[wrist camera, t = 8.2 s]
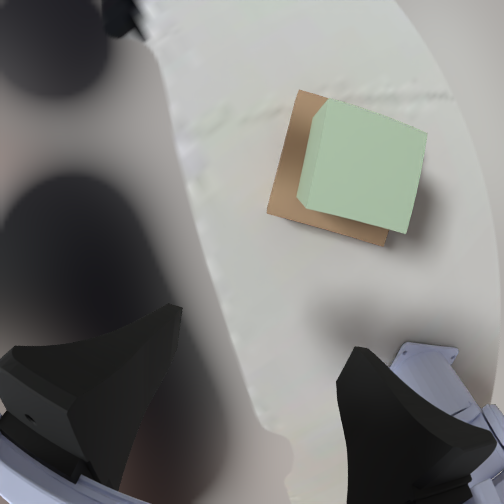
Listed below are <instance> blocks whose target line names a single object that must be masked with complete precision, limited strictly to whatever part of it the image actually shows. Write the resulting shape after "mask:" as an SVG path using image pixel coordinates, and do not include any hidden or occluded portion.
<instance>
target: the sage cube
mask: <svg viewBox="0 0 504 504" xmlns="http://www.w3.org/2000/svg"><path fill="white" fill-rule="evenodd" d="M426 140H427V133H425V132H423V131H421V130H419V129H416V128H414V127H412V126H409V125H407V124H404V123H402V122H399V121H397V120H394V119H392V118H389V117H386V116H384V115H381V114H378V113H375V112H372V111H370V110H367V109H364V108H361V107H357V106H354V105H351V104H348V103H345V102H341V101H338V100H334V99H331V98H329V99H328V100H327V101H326V102H325V103H324V105H323V106H322V107H321V108H320V109H319V111H318V112H317V113H316V114H315V116H314V117H313V119H312V124H311V129H310V134H309V139H308V144H307V149H306V154H305V159H304V163H303V168H302V173H301V177H300V182H299V187H298V191H297V196H296V197H297V198H298V200H299V201H300V202H301V203H302V204H303V205H304V206H305V208H306V209H311V210H315V211H319V212H323V213H328V214H332V215H336V216H340V217H344V218H348V219H352V220H356V221H360V222H363V223H367V224H371V225H375V226H378V227H382V228H386V229H389V230H393V231H396V232H400V233H403V234H406V232H407V229H408V225H409V221H410V218H411V214H412V210H413V206H414V202H415V197H416V193H417V189H418V184H419V179H420V174H421V169H422V164H423V158H424V153H425V146H426Z"/></svg>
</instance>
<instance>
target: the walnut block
mask: <svg viewBox="0 0 504 504" xmlns="http://www.w3.org/2000/svg"><path fill="white" fill-rule="evenodd" d="M328 99H329V98H326V97H323V96H319V95H316V94H313V93H309V92H306V91H302V90H299V91H298V94H297V97H296V100H295V103H294V107H293V111H292V115H291V119H290V123H289V127H288V130H287V134H286V138H285V142H284V146H283V150H282V153H281V157H280V161H279V165H278V169H277V172H276V176H275V180H274V184H273V188H272V191H271V195H270V199H269V203H268V207H267V214H271V215H274V216H278V217H282V218H286V219H289V220H293V221H297V222H300V223H304V224H308V225H311V226H315V227H318V228H322V229H325V230H329V231H332V232H336V233H339V234H343V235H346V236H349V237H353V238H356V239H359V240H363V241H366V242H369V243H372V244H376V245H379V246H382V247H383V246H384V243H385V241H386V238H387V235H388V232H389V229H386V228H382V227H378V226H375V225H371V224H367V223H363V222H360V221H356V220H352V219H348V218H344V217H340V216H336V215H332V214H328V213H323V212H319V211H315V210H311V209H306V208H305V206H304V205H303V204H302V203H301V202H300V201H299V200H298V198H297V197H296V196H297V191H298V187H299V182H300V177H301V173H302V168H303V163H304V159H305V154H306V149H307V144H308V139H309V134H310V129H311V124H312V119H313V117H314V116H315V114H316V113H317V112H318V111H319V109H320V108H321V107H322V106H323V105H324V103H325V102H326V101H327V100H328Z"/></svg>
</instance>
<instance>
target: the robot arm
mask: <svg viewBox="0 0 504 504" xmlns="http://www.w3.org/2000/svg"><path fill="white" fill-rule="evenodd" d="M182 309H183V308H182V307H179V306H175V305H172V304H166V305H165V306H163V307H161V308H159V309H157V310H156V311H154V312H152V313H150V314H148V315H146V316H145V317H143V318H141V319H139V320H137V321H135V322H133V323H131V324H129V325H127V326H124V327H122V328H120V329H118V330H115V331H113V332H110V333H107V334H104V335H101V336H98V337H95V338H91V339H87V340H82V341H78V342H73V343H67V344H60V345H50V346H14V347H13V348H12V349H11V350H9V351H8V352H7V353H6V354H5V355H4V356H3V357H2V358H1V359H0V398H1V400H2V402H3V404H4V406H5V408H6V410H7V411H6V412H5V413H4V415H3V416H2V415H1V413H0V495H1V496H2V497H3V498H4V499H5V500H6V501H7V502H9V503H10V504H150V503H147V502H144V501H141V500H138V499H136V498H133V497H130V496H128V495H125V494H123V493H120V492H118V490H119V486H120V483H121V479H122V476H123V472H124V469H125V466H126V463H127V460H128V457H129V454H130V451H131V448H132V445H133V442H134V439H135V437H136V434H137V431H138V429H139V426H140V423H141V421H142V418H143V416H144V413H145V411H146V409H147V407H148V405H149V403H150V402H151V400H152V398H153V396H154V394H155V393H156V391H157V389H158V387H159V385H160V384H161V382H162V380H163V378H164V376H165V375H166V373H167V371H168V369H169V367H170V365H171V362H172V360H173V357H174V355H175V352H176V350H177V346H178V338H179V330H180V323H181V316H182ZM404 351H405V352H404ZM403 352H404V353H403ZM458 353H459V350H458V349H457V348H454V347H444V346H436V345H427V344H420V343H412V342H406V343H404V344H403V345H402V347H401V349H400V351H399V352H398V354H397V356H396V358H395V359H394V361H393V363H392V364H391V366H390V368H389V367H388V366H386V365H385V364H384V363H383V362H382V361H381V360H380V359H379V358H378V357H377V356H376V355H375V354H374V353H373V352H371V351H370V350H369V349H367V348H362V347H356V346H355V347H354V349H353V351H352V353H351V355H350V357H349V359H348V361H347V362H346V364H345V366H344V368H343V370H342V372H341V374H340V375H339V377H338V379H337V381H336V387H337V401H338V407H339V411H340V416H341V421H342V426H343V430H344V435H345V440H346V446H347V458H348V492H347V504H504V415H503V414H502V412H501V411H500V410H499V408H498V407H497V406H496V405H495V404H491V405H489V404H486V405H485V406H484V407H483V408H482V409H481V408H480V407H479V406H478V405H477V403H476V401H475V400H474V398H473V397H472V395H471V394H470V392H469V391H468V390H467V388H466V387H465V385H464V384H463V382H462V381H461V379H460V378H459V377H458V375H457V374H456V372H455V371H454V370H453V368H452V367H451V364H452V363H453V361H454V360H455V358H456V356H457V355H458ZM502 470H503V471H502ZM501 471H502V472H501ZM500 472H501V473H500ZM498 473H500V474H499V475H498V476H496V475H497V474H498ZM495 476H496V477H495ZM493 477H495V478H494V479H492V478H493ZM491 479H492V480H491Z"/></svg>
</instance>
